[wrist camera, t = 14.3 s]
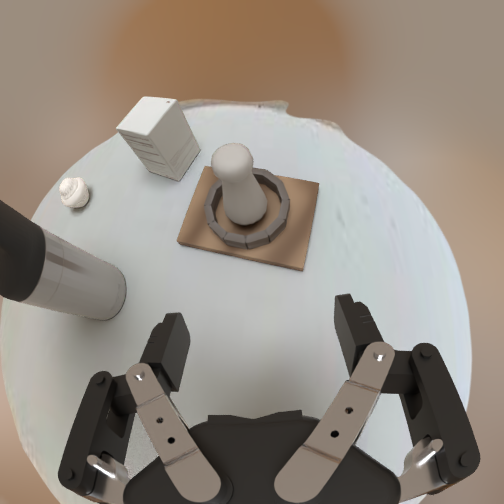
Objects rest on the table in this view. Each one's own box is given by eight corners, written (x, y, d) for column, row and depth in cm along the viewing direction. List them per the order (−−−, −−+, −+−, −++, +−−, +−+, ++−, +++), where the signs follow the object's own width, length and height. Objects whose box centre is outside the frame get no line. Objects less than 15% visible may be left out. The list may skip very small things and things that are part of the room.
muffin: (74, 219, 44) (52, 204, 38) (71, 198, 46) (50, 182, 40) (97, 201, 45) (75, 184, 38) (92, 181, 47) (72, 162, 40)
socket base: (180, 244, 39) (169, 234, 35) (207, 171, 43) (200, 156, 39) (302, 271, 36) (304, 263, 32) (318, 188, 39) (320, 173, 35)
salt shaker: (253, 238, 36) (236, 188, 24) (219, 219, 38) (190, 166, 26) (276, 204, 38) (269, 144, 25) (242, 188, 39) (223, 127, 27)
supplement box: (170, 141, 46) (143, 94, 34) (201, 150, 44) (178, 98, 33) (148, 172, 45) (114, 128, 33) (179, 183, 43) (147, 134, 31)
